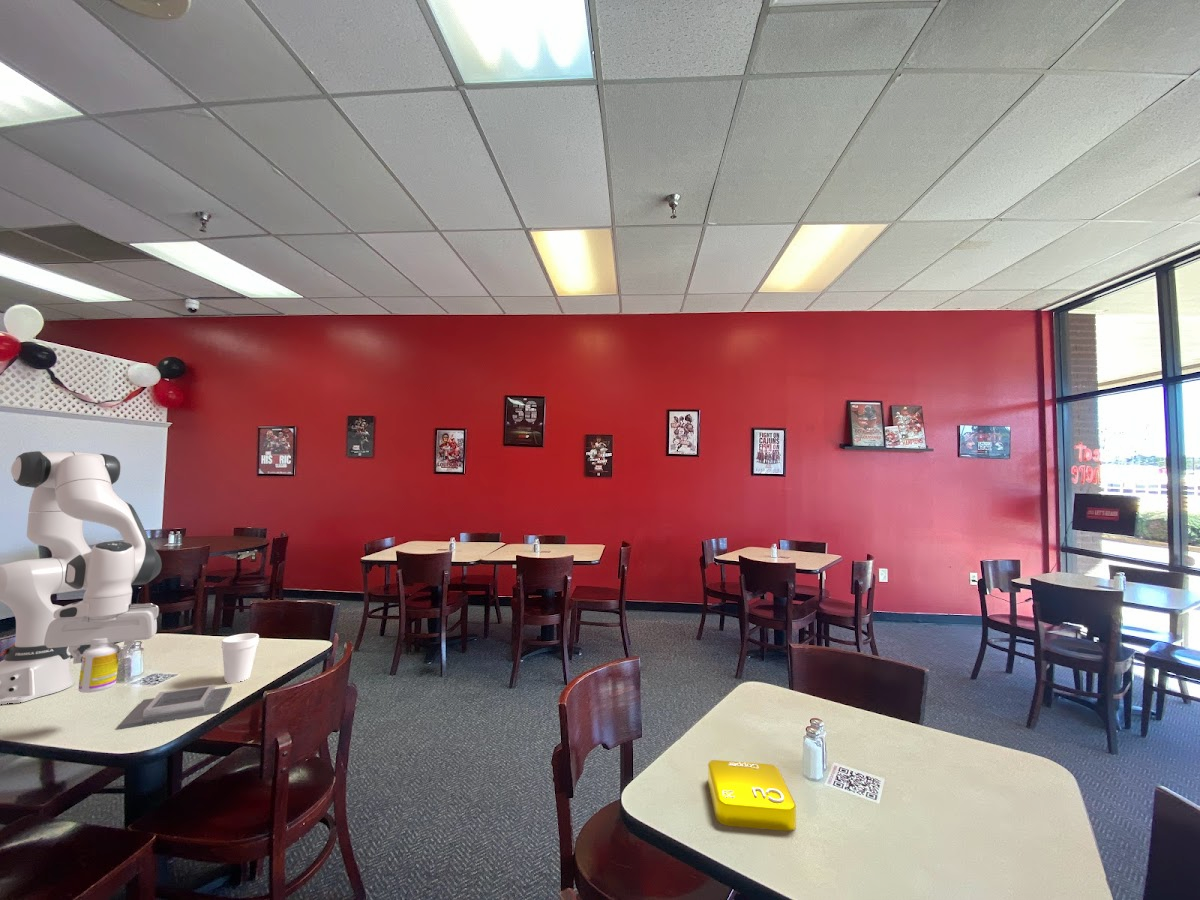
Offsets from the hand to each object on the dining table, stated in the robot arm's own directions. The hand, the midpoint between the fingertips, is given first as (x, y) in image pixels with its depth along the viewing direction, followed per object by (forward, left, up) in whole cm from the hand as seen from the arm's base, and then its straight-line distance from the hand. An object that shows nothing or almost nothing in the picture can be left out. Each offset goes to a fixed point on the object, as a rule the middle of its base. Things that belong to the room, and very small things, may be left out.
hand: (100, 660), depth 121 cm
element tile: (+129, -98, -17) cm, 162 cm away
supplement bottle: (0, 0, -7) cm, 7 cm away
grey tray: (+16, +4, -16) cm, 23 cm away
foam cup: (+26, +21, -17) cm, 37 cm away
